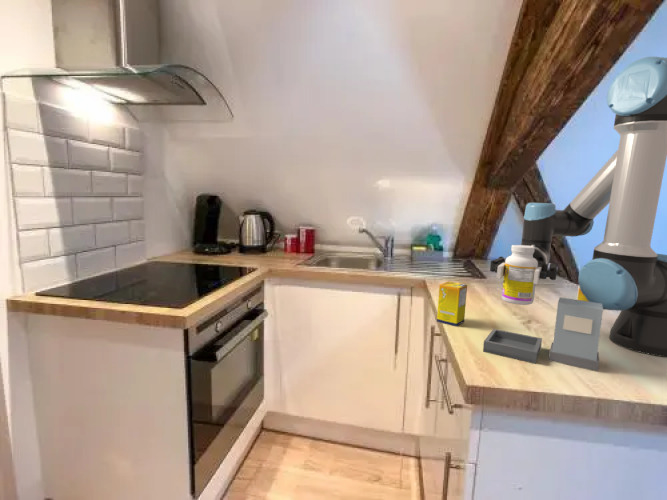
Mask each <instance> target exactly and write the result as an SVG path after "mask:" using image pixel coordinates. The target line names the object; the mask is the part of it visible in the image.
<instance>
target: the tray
mask: <svg viewBox="0 0 667 500" xmlns="http://www.w3.org/2000/svg"><path fill="white" fill-rule="evenodd" d="M542 341H543V338H542V337H537V336H532V335H526V334H522V333H517V332H512V331H507V330H502V329H496V328H493V329H492V330H491V331H490V333H488V335H487V337H486V338H485V339H484V341H483V349H482V351H483V352H484V353H488V354H491V355H497V356H501V357H506V358H510V359H514V360H518V361H523V362H526V363H530V364H535V365H536V364H537V361H538V358H539V356H540V352H541V349H542Z"/></svg>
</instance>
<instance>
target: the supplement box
mask: <svg viewBox="0 0 667 500" xmlns="http://www.w3.org/2000/svg"><path fill="white" fill-rule="evenodd" d="M467 290H468V284H465V283H459V282H455V281H446V282H443V283H440V284H439V288H438V301H437V314H436V322H437V323H441V324H446V325H447V326H453V327H458V326H460V325H461V324H463V323H465V316H466V314H465V313H466V304H467Z"/></svg>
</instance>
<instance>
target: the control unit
mask: <svg viewBox="0 0 667 500" xmlns="http://www.w3.org/2000/svg"><path fill="white" fill-rule="evenodd" d="M603 312H604V309H603V306H602V303H595V302H588V301H582V300H576V299H573V298H566V297H560V296H559V298H558V302H557V307H556V317H555V326H554V332H553V333H554V334H553V342H551V344H550V348H549V352H548V353H549V355H548V361H550V362H554V363H559V364H562V365H568V366H572V367H577V368H581V369H585V370H589V369H590V370H589V371H593V370H595V371H594V372H599V369H600V368H599V366H600V356H599V351H598V350H599V343H600V337H601V327H602V322H603V321H602V320H603Z"/></svg>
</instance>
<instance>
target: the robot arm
mask: <svg viewBox="0 0 667 500" xmlns="http://www.w3.org/2000/svg"><path fill="white" fill-rule="evenodd" d="M606 103H607V106H608V108H609V109H610V110H611V112H612V113H613V114H615V115H614V116H615V117H614V121H613V122H614V124H613V129H614V130H615V131H616V132H617V134H619V136H620V138H619V141H618V142H619V143H618V149H617V150H616V151H615V152H614V154H612V155H611V156H610V158H608V161H607V162H605V164H604V165H602V167H601V168H600V169H599V170H598V172H596V174H595V175H594V176H593V177H592V178H591V179H590V180H589V181H588V182H587V184H586V185H584V187H583V188H582V189H581V190H580V192H578V194H577V195H576V196H575V197H574V198H573V199H572V200H571V201H570V203H568V205H566V207H564V209H562V210H561V209H560V210H558V209H556V204H554V203H553V202H552V203H551V202H550V203H548V202H547V203H546V202H528V203H526V205H525V210H524V216H523V224H522V225H523V226H522V234H521V236H522V237H521V243H520V245H525V246H533V247H535V250H534V254H533V258H535V259H536V260H537V262H538V267H537V269H536V270H535V272H534V280H533V283H534V284H535V285H538V283H539V282H540V280H547V278H549V280H551V281H555V280H556V279H557V274H558V270H559V269H558V268H559V263H557V262H553V263H552V262H551V256H552V255H551V246H552V239H553V237H571V238H572V237H579V236H585V235H587V234H589V233H590V232H591V231H592V230H593V227H594V223H595V221H594V219H595V218H596V217H597V216H598V215H599V214H600V213H601V212H602V211H603V210H604V209H605V208H606V207H607V206H608V210H607V217H606V223H605V229H604V233H603V240H602V242H601V243H599V244H598V245H596V246H595V247H593V254H592V258H591V260H589V261H587V262H586V263H585V264H583V266H582V267H581V269H580V270H579V273H578V277H577V278H578V279H577V280H578V281H577V282H578V286H579V287H580V290H581V292H582V293H583V295H585V297H586V299H587V300H588V301H589V302H595V303H602V306H603V310H608V311H611V310H612V311H620V313H618V316H617V318H616V320H615V321H614V323H613V325H612V326H611V327H610V331H609V335H608V337H609V340H610V342H612V343H614V344H617V345H618V346H620V347H623V348H625V349H628V350H631V351H635V352H639V353H642V352H643V354H647V353H649V354H648V355H652V354H654V355H653V356H657V355H661V356H660V357H667V254H662V253H657V252H655V251H654V249H653V248H652V247H651V243H652V237H653V233H654V227H655V223H656V222H655V221H656V216H657V212H658V211H657V210H658V206H659V202H660V201H659V199H660V195H661V189H662V183H663V179H664V174H665V170H666V169H665V168H666V162H667V57H663V56H661V57H660V56H646V57H641V58H639V59H636V60H634V61H632V62H630V63H629V64H627V65H626V66H625V67H624V68H623V69H622V70H621V71H620V72H618V73H617V74H616V76H615V77H614V79H613V80H612V81H611V83H610V85H609V87H608V90H607V93H606ZM506 258H507V257H503V256H498V258H496V259H492V260H490V264H489V265H490V267H489V271H490V272H493V273H496V279H502V278H504V270H505V261H506ZM550 262H551V263H550Z"/></svg>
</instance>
